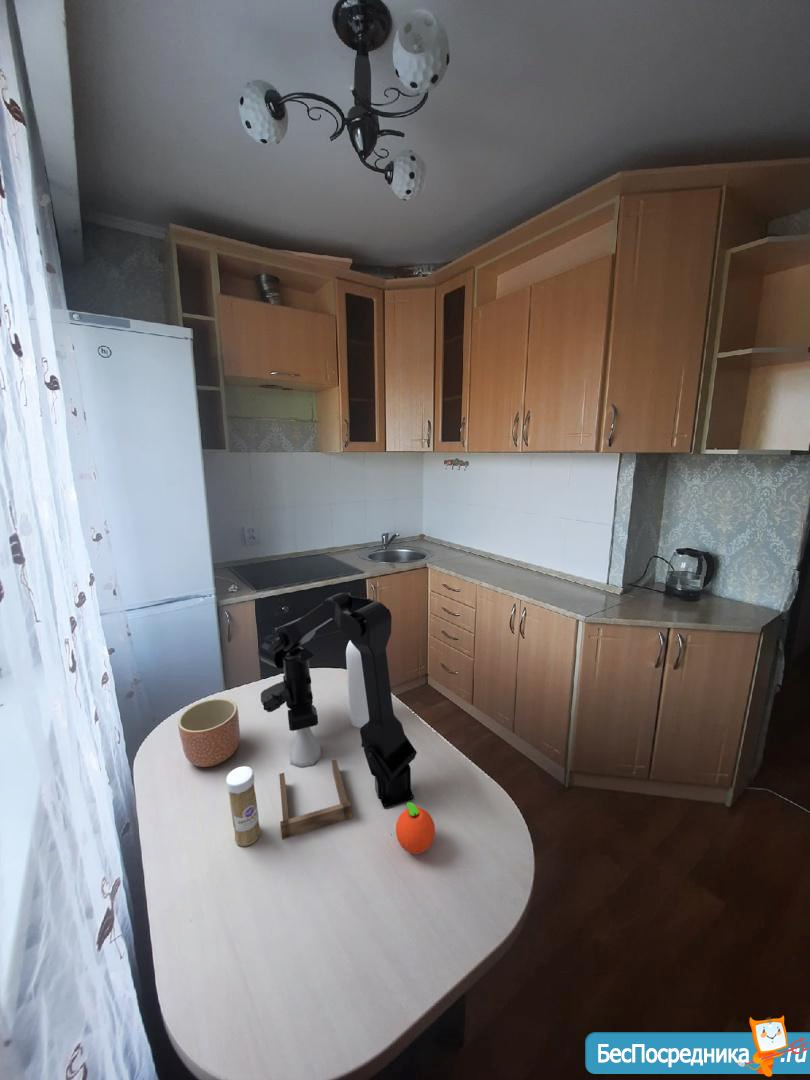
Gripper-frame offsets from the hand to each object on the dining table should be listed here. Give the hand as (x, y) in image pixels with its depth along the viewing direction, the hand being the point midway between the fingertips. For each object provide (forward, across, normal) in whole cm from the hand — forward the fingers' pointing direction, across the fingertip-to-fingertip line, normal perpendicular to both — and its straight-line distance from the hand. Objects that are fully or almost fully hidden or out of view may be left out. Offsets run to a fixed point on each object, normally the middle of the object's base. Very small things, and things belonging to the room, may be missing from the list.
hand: (302, 731), depth 104 cm
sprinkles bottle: (+3, +23, -12) cm, 26 cm away
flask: (+3, +6, 0) cm, 6 cm away
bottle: (+3, -2, +16) cm, 16 cm away
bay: (+2, +19, 0) cm, 19 cm away
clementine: (+3, +35, +16) cm, 38 cm away
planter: (+2, -2, -20) cm, 20 cm away
